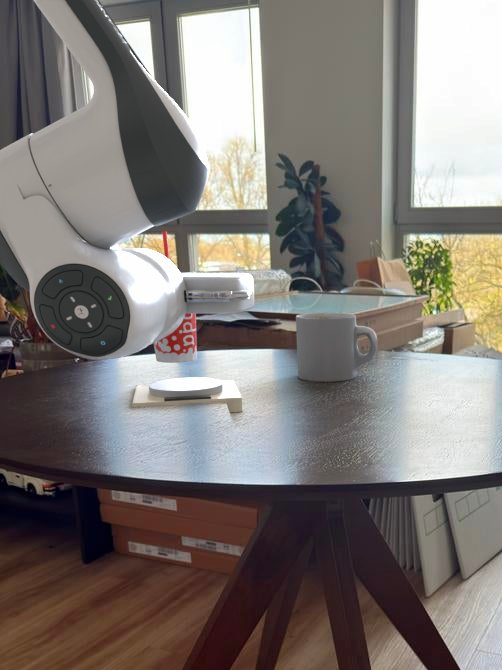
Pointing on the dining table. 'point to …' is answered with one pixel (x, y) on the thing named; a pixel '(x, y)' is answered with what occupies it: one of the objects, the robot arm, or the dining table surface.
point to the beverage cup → (178, 335)
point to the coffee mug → (331, 346)
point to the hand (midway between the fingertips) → (171, 287)
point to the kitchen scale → (188, 393)
